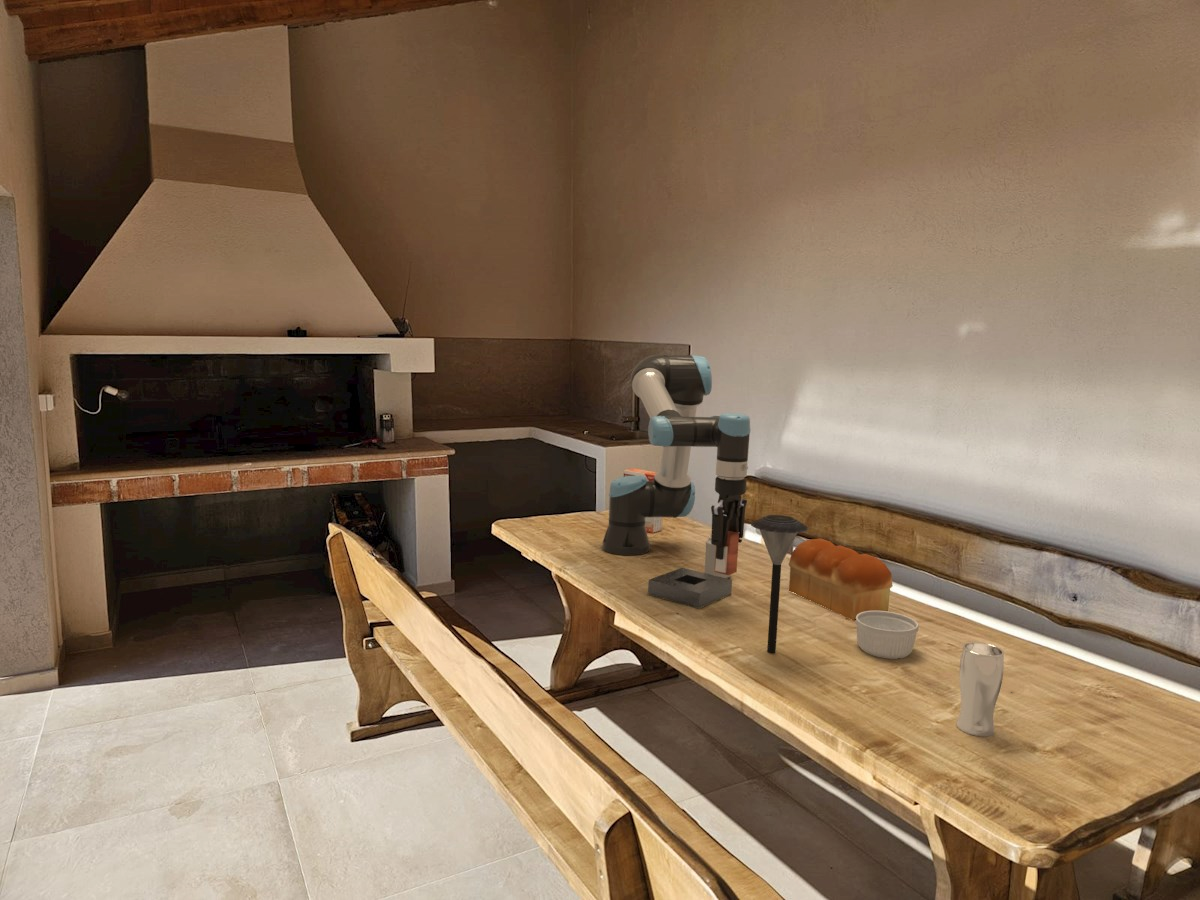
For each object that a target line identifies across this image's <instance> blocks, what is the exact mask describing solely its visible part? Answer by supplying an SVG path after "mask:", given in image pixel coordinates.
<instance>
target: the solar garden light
mask: <svg viewBox="0 0 1200 900" xmlns="http://www.w3.org/2000/svg"><path fill="white" fill-rule="evenodd" d="M750 526H751V527H752V528H755V529H757V530H759V532H760V534H761V537H762V539H763V540H762V541H763V543H764V545H765V547H766V550H767V553H768V555H769V558H770V560H771V563H772V568H771V586H770V602H769V617H768V618H769V619H768V630H767V631H768V632H767V633H768V635H767V647H766V648H767V650H766V651H767V653H768V654H776V652H777V651H776V650H777V637H778V636H777V635H778V621H779V607H780V606H779V605H780V590H781V589H780V588H781V576H782V574H781V572H782V563H783V562H784V560H785V557H786V556H787V554H788V552H789V551H790V548H791V546H792V544H793V543H794V541H795V539H796V537H797V535H798V534H800V533H805V532H807V531H809V527H808V526H807V525H805V524H804V523H802V522H801V521H799V520H798V519H796V518H794V517H792V516H788V515H782V514H769V515H766V516H763V517H761V518H759V519H756V520H755V521H753V522H750Z"/></svg>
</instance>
